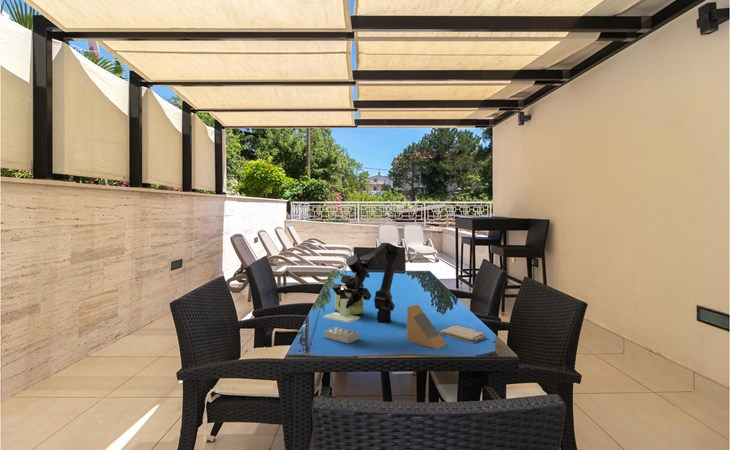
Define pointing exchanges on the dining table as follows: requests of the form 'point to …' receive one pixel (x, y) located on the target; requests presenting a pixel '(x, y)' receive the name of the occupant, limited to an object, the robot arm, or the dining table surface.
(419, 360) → the dining table surface
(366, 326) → the dining table surface
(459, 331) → the washcloth
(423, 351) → the dining table surface
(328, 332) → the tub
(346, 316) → the pale green grooved stand
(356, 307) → the protein box
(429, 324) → the sandwich container
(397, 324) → the dining table surface
